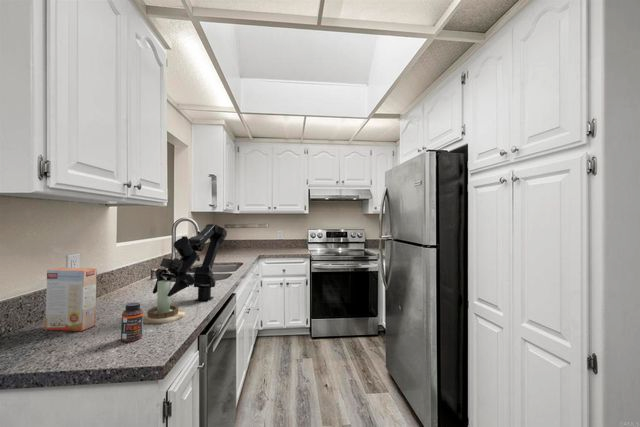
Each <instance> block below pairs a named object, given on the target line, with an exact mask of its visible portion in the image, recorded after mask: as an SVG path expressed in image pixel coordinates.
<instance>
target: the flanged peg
mask: <svg viewBox="0 0 640 427" xmlns="http://www.w3.org/2000/svg"><path fill="white" fill-rule="evenodd" d="M171 283H172V282H171V280H162V281H158V285H157V292H156V297H157V298H156V307H157V311H155V312H154V313H163V312H169V311H173V310H172V309H170V305H171V296H170V297H169V296H167V295H168V293H169V291H170V290H171V288H172V287H171Z"/></svg>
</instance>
